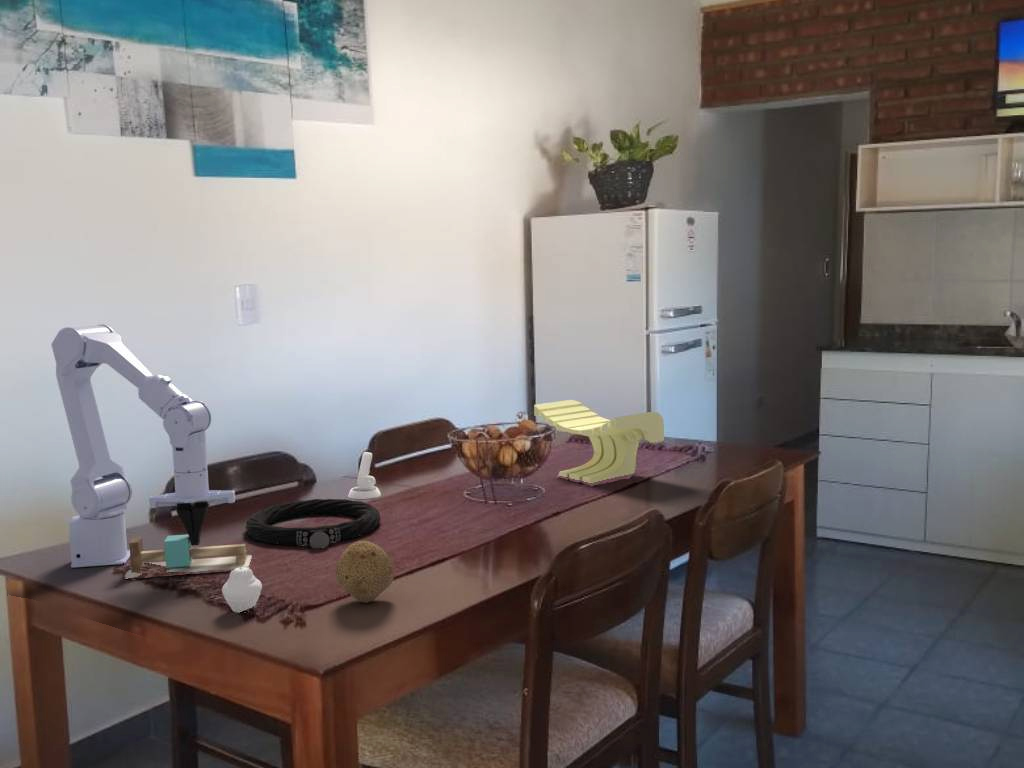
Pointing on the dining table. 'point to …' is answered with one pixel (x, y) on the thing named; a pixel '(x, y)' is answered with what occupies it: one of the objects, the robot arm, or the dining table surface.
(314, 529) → the cable lock
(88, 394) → the robot arm
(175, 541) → the slider
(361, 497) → the white joystick
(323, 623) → the dining table surface
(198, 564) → the rail
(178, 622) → the dining table surface
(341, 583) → the natural sponge
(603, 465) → the slatted curved stool
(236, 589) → the white faceted lump
